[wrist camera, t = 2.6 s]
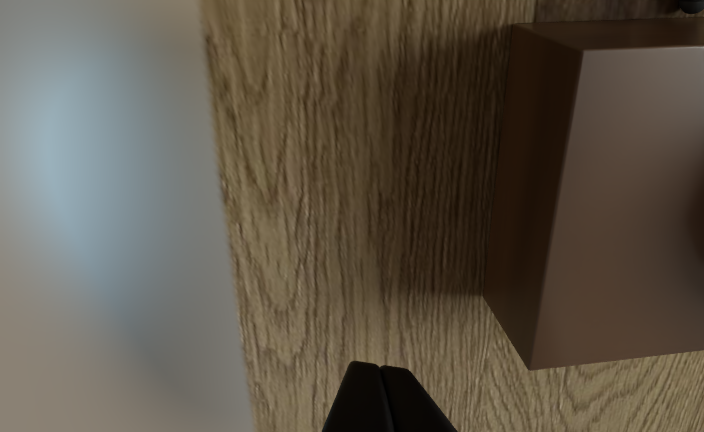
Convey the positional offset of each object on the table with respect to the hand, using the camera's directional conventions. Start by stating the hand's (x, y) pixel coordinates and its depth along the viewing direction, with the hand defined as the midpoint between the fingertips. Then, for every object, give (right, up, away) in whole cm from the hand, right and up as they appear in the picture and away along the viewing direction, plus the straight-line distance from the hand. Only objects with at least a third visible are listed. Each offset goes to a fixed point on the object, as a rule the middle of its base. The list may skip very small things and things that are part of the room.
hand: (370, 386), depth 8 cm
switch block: (+11, +4, +12) cm, 17 cm away
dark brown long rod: (+8, +33, -3) cm, 34 cm away
